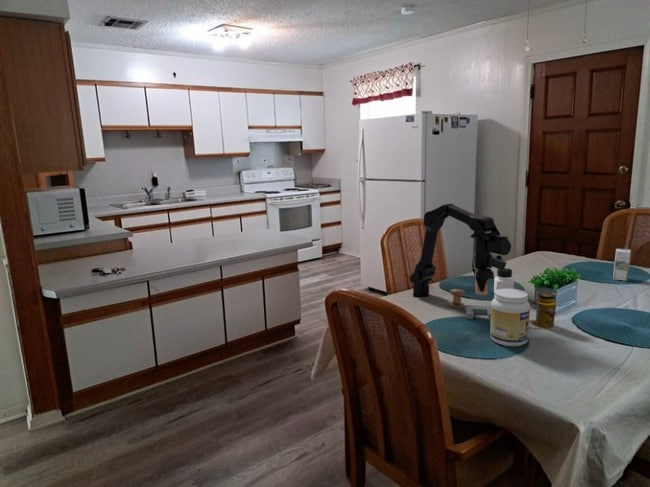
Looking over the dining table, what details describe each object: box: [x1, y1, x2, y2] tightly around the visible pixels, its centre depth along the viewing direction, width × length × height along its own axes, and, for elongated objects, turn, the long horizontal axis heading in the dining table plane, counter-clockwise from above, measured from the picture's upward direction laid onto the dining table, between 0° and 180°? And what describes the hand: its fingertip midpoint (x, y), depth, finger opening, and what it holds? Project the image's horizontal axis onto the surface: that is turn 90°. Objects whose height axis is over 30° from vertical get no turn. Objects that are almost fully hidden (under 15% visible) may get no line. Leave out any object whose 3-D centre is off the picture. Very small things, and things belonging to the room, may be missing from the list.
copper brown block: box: [474, 279, 489, 296], centre depth 173 cm, size 4×4×6 cm
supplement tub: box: [489, 288, 531, 347], centre depth 152 cm, size 12×12×17 cm
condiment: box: [529, 292, 557, 331], centre depth 164 cm, size 7×8×12 cm
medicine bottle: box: [493, 267, 515, 294], centre depth 198 cm, size 7×7×12 cm
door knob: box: [448, 288, 466, 309], centre depth 187 cm, size 6×6×6 cm
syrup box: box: [612, 248, 631, 282], centre depth 213 cm, size 6×6×14 cm
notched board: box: [464, 304, 491, 321], centre depth 177 cm, size 10×10×2 cm
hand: (481, 289), depth 173 cm, fingers closed on copper brown block, 4 cm apart
